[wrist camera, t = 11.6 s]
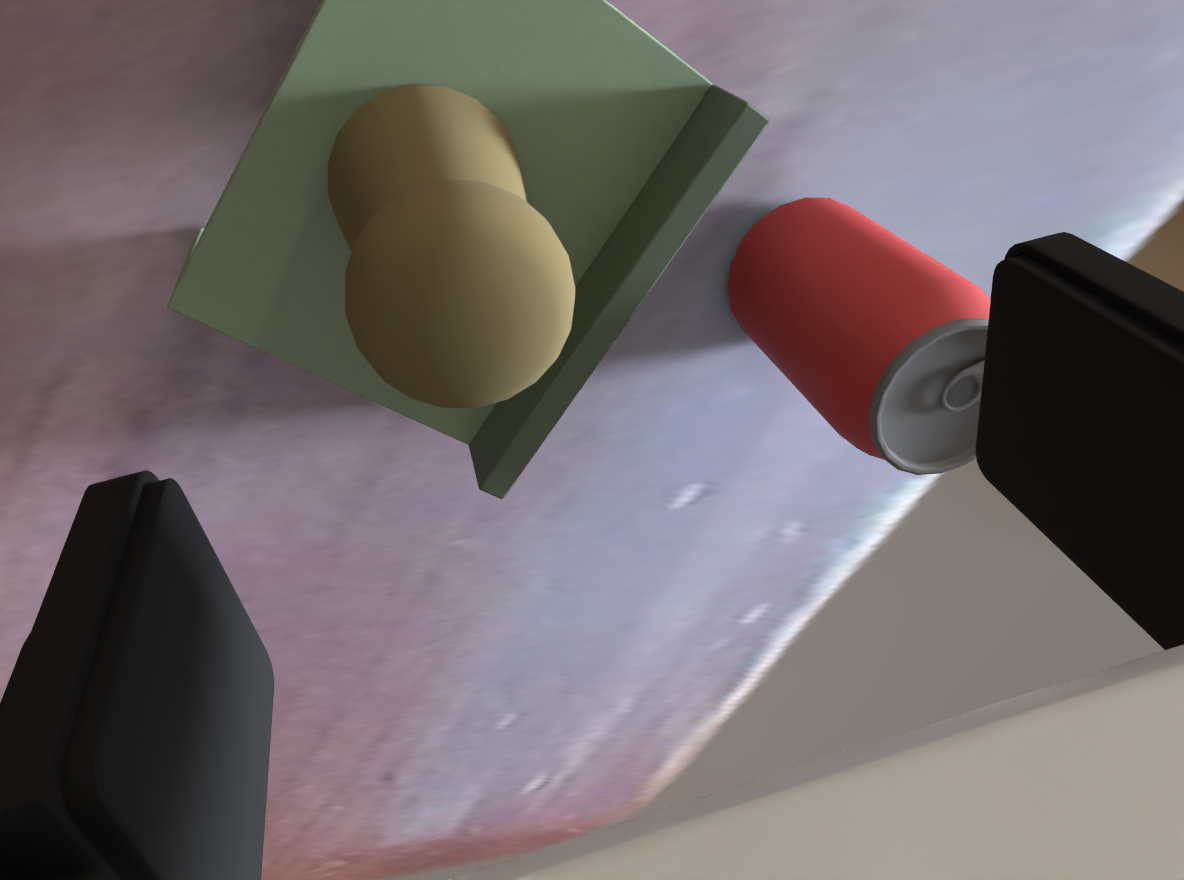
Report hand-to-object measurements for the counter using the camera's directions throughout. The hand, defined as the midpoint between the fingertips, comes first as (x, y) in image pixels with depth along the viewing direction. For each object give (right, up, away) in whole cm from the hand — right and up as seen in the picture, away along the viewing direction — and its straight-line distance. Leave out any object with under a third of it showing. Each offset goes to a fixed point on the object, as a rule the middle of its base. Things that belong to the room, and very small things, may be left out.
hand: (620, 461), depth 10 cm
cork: (-6, +8, +18) cm, 21 cm away
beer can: (+8, +8, +29) cm, 31 cm away
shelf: (-6, +10, +23) cm, 26 cm away
